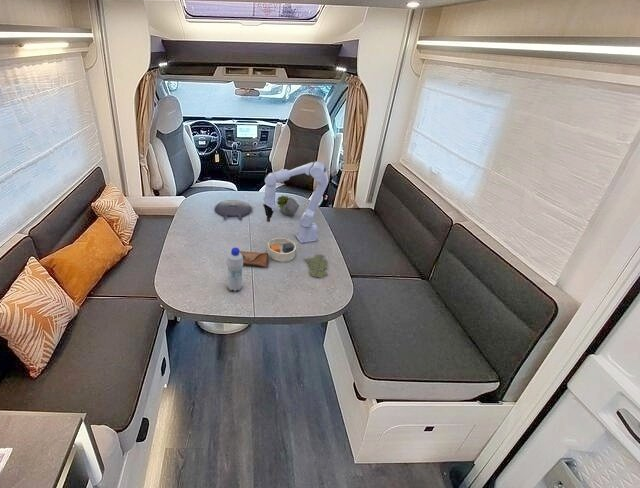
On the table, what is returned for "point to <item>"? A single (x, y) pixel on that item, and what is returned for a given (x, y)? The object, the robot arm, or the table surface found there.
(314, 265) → the map
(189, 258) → the table surface
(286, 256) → the bowl
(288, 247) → the slate block
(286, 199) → the potted plant
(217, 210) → the toy spaceship
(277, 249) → the orange block
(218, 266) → the table surface
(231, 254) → the bottle
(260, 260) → the sunglasses case
